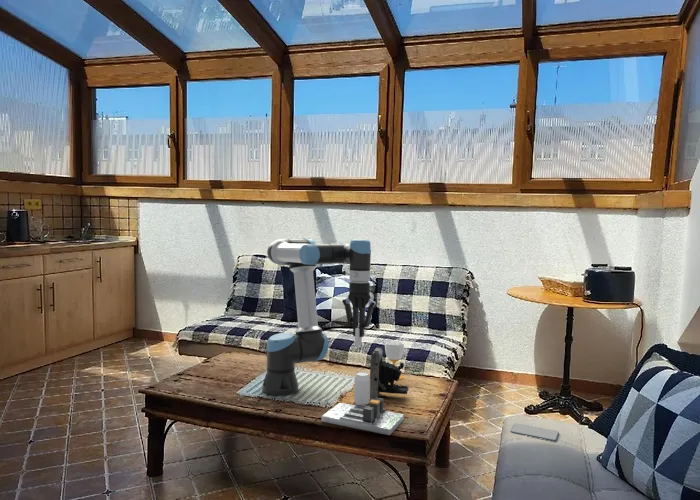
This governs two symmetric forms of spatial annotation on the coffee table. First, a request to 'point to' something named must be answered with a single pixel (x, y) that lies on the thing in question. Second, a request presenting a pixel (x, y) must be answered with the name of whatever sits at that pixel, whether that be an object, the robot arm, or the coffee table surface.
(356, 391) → the beverage can
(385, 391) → the vintage camera
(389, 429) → the breaker panel
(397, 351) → the cup
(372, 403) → the breaker
